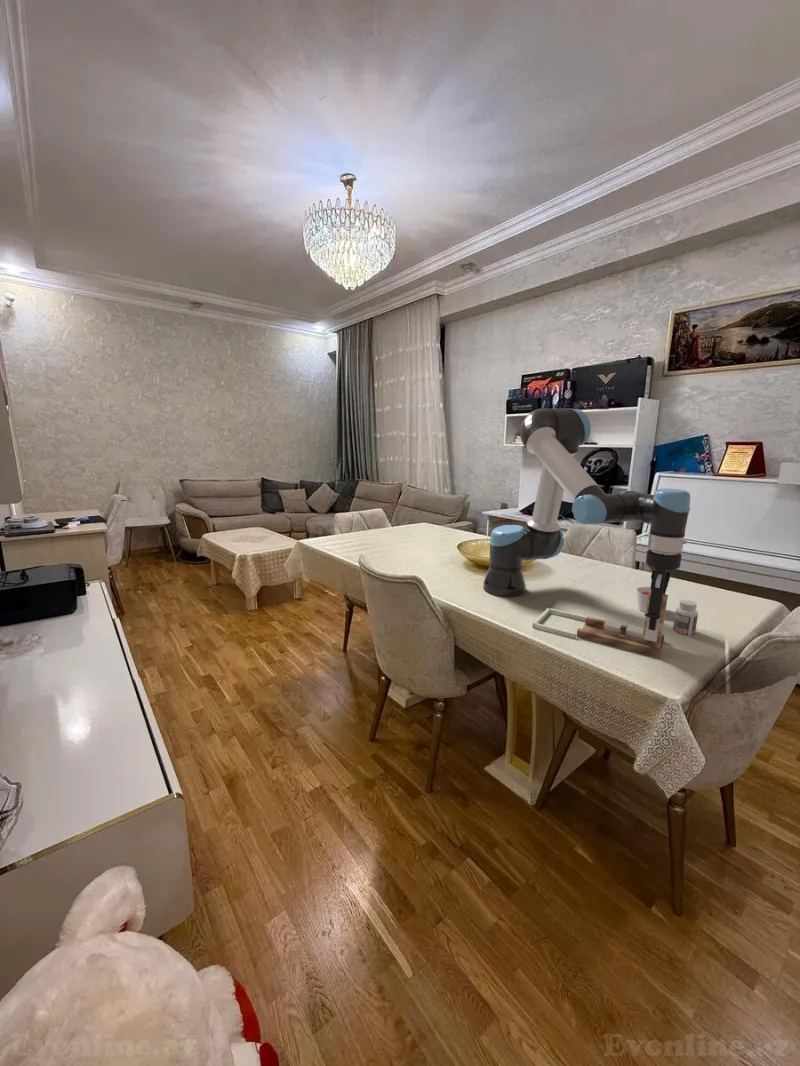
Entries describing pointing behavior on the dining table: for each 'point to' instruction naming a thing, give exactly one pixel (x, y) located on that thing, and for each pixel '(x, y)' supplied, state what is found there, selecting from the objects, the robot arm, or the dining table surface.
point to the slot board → (595, 633)
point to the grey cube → (612, 628)
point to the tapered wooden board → (661, 623)
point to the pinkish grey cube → (634, 634)
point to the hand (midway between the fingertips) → (652, 634)
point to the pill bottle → (685, 618)
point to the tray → (555, 630)
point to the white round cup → (643, 597)
